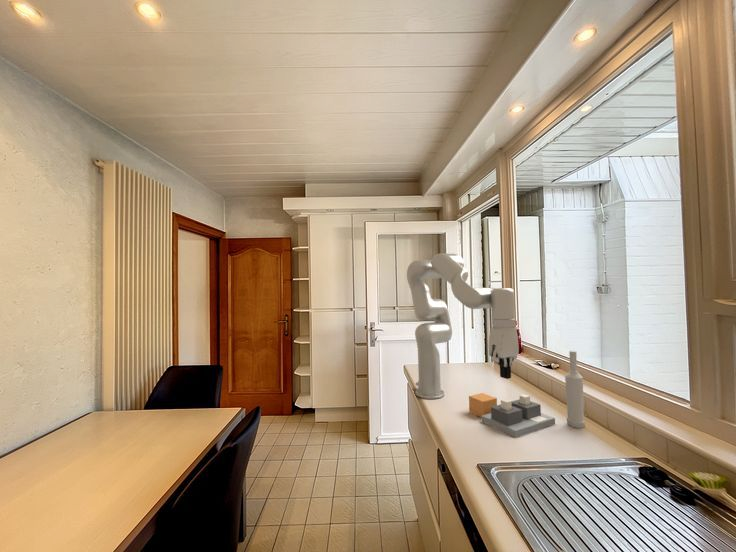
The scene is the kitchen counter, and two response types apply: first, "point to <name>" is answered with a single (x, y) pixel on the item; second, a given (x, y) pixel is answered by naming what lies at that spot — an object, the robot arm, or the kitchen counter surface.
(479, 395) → the orange cube-like block
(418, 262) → the robot arm
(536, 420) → the panel
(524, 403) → the toggle far
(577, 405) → the bottle
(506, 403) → the toggle near
